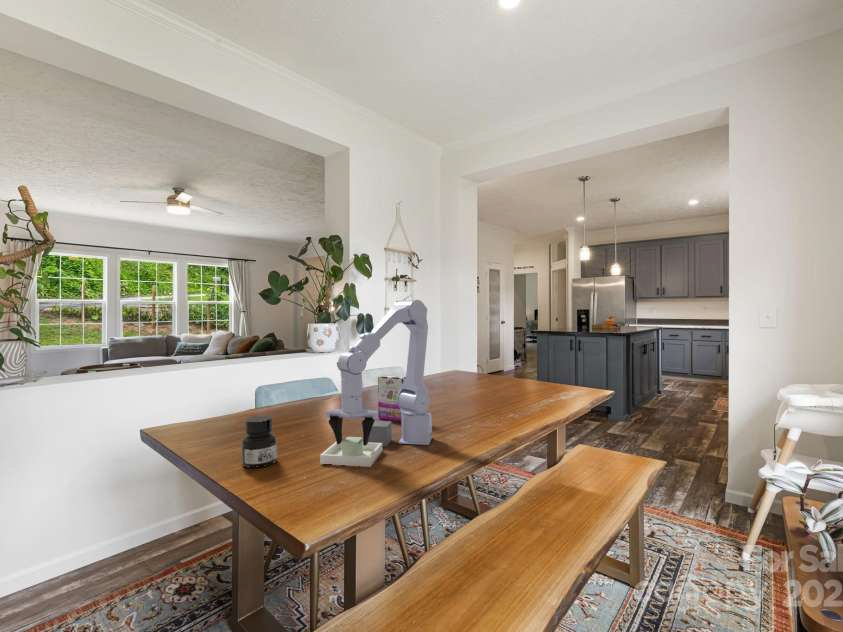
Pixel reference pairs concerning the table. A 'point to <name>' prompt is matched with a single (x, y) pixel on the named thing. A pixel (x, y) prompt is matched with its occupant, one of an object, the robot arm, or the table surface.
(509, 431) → the table surface
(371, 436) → the gray block
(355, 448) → the sage block
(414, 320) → the robot arm
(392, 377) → the candy bar box
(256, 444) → the ink bottle
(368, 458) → the tray
